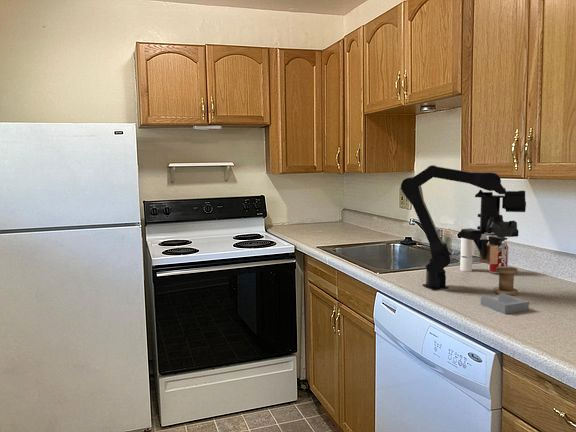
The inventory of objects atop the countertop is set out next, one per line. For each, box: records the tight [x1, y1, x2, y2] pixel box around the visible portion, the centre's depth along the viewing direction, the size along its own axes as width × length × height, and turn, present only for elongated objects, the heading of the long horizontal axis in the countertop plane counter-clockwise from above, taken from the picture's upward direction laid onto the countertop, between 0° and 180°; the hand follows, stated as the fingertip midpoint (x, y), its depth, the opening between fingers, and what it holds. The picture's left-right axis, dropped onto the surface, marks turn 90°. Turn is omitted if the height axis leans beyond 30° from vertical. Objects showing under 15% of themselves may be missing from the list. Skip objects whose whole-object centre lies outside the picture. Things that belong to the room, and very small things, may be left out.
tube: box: [459, 237, 474, 272], centre depth 190 cm, size 4×4×15 cm
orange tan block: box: [478, 242, 498, 265], centre depth 160 cm, size 5×3×6 cm, turn 17°
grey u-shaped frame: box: [480, 293, 530, 315], centre depth 145 cm, size 10×9×2 cm
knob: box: [493, 266, 519, 296], centre depth 160 cm, size 7×7×8 cm
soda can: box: [487, 240, 509, 275], centre depth 186 cm, size 7×7×12 cm
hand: (488, 258), depth 160 cm, fingers closed on orange tan block, 3 cm apart
